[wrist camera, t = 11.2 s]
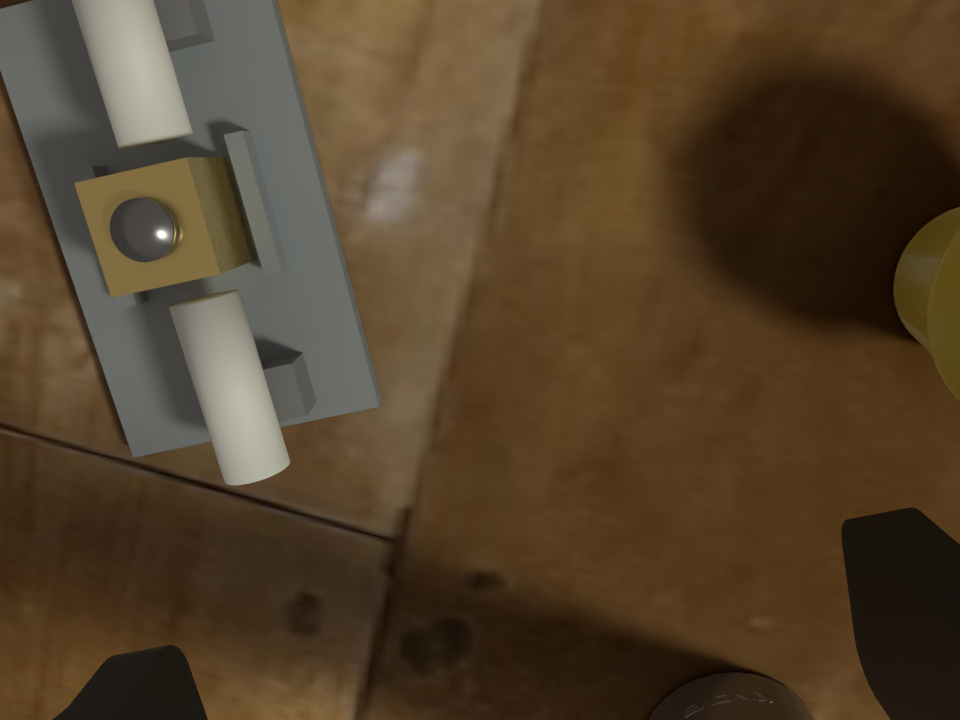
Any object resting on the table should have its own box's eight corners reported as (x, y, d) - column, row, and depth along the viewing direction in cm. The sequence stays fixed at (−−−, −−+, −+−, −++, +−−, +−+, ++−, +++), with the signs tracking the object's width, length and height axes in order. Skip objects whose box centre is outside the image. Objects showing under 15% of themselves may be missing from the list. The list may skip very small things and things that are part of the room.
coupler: (226, 157, 35) (180, 157, 30) (255, 259, 36) (215, 276, 31) (127, 179, 35) (65, 183, 30) (158, 280, 36) (103, 300, 31)
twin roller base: (386, 415, 39) (365, 460, 33) (147, 464, 40) (87, 515, 34) (258, -72, 34) (208, -117, 28) (-11, -2, 35) (-112, -32, 29)
